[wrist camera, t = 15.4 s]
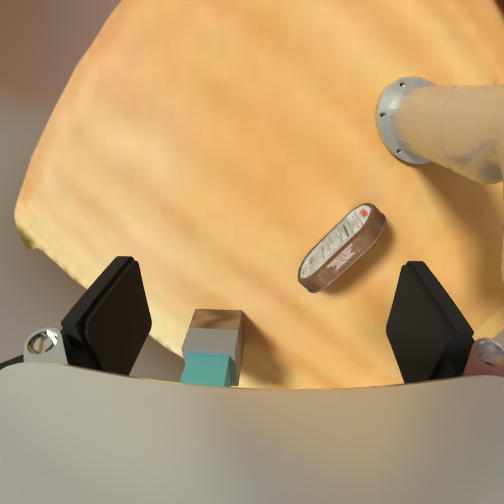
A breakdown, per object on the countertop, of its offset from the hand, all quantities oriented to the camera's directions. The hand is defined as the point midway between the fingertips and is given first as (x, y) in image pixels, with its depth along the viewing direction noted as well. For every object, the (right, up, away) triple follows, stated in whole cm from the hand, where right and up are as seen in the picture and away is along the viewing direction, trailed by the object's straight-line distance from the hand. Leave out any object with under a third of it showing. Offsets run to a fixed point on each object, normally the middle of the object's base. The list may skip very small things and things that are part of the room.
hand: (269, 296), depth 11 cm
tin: (+12, +4, +35) cm, 37 cm away
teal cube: (-7, -16, +35) cm, 39 cm away
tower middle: (-7, -14, +39) cm, 42 cm away
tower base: (-6, -12, +44) cm, 46 cm away
